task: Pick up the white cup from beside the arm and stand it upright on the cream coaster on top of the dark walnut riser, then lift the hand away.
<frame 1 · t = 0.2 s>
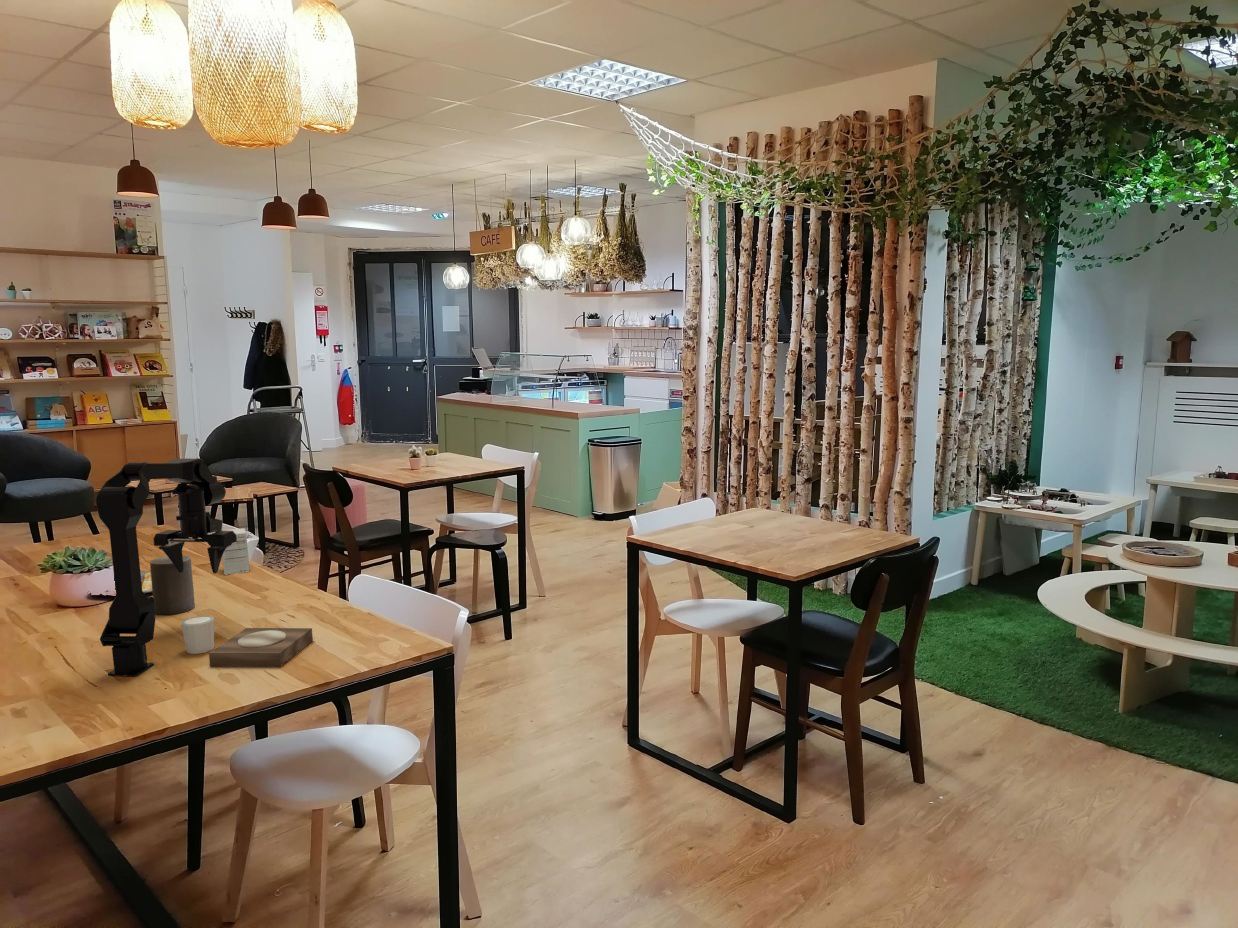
hand: (198, 572, 210), 14 cm above the table, tool pointing down, fingers open, 9 cm apart
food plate: (137, 589, 250), on the table
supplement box: (236, 571, 265), on the table
white cup: (200, 650, 197), on the table
walnut riser: (263, 652, 194), on the table
pillar candle: (175, 610, 228), on the table
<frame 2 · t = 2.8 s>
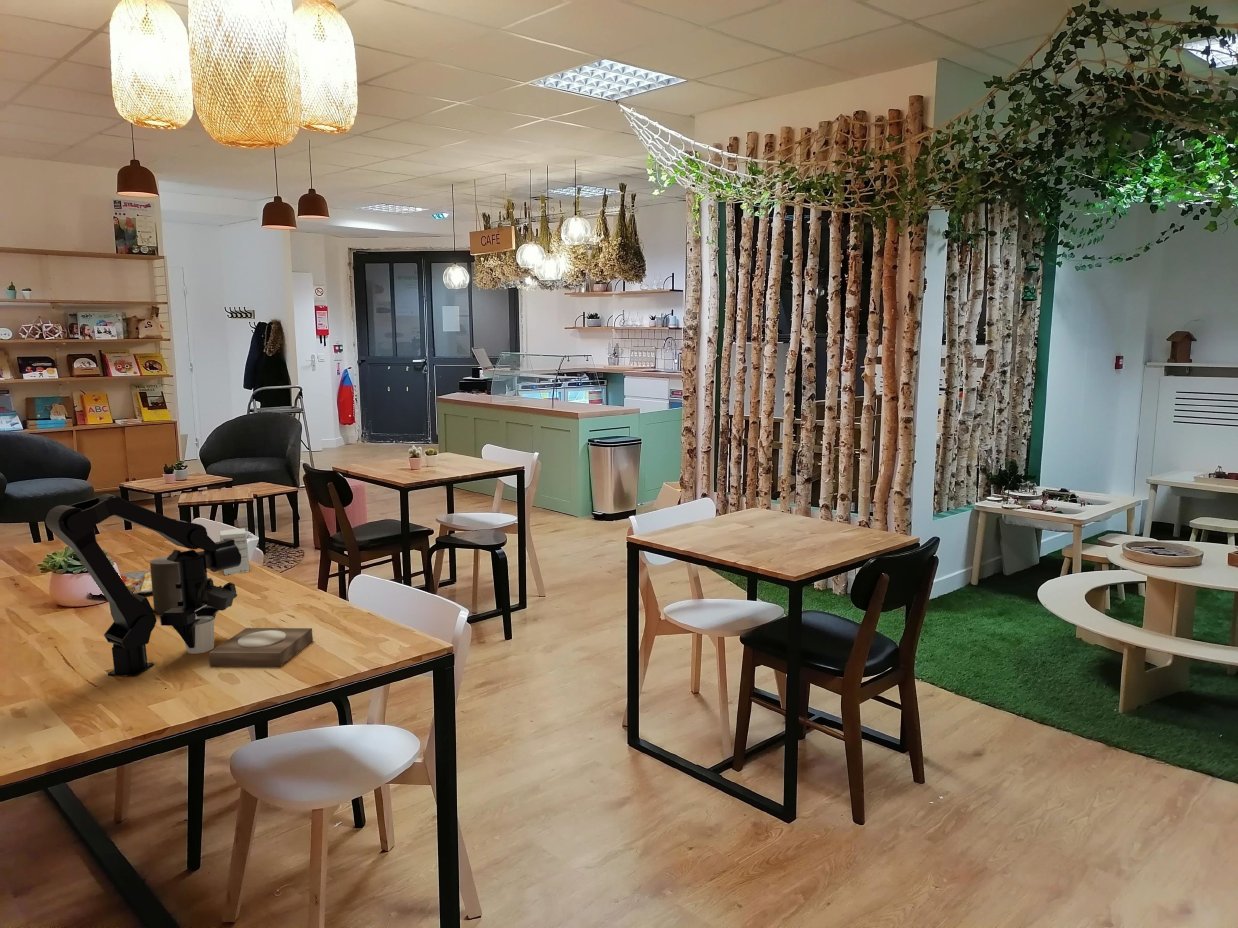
hand: (199, 642, 197), 2 cm above the table, tool pointing down, fingers closed on white cup, 6 cm apart
white cup: (200, 649, 197), on the table, touching gripper
everything else where it was.
when the fingers open (6 cm above the table, at t = 7.1 s): white cup drops 1 cm, resting on walnut riser.
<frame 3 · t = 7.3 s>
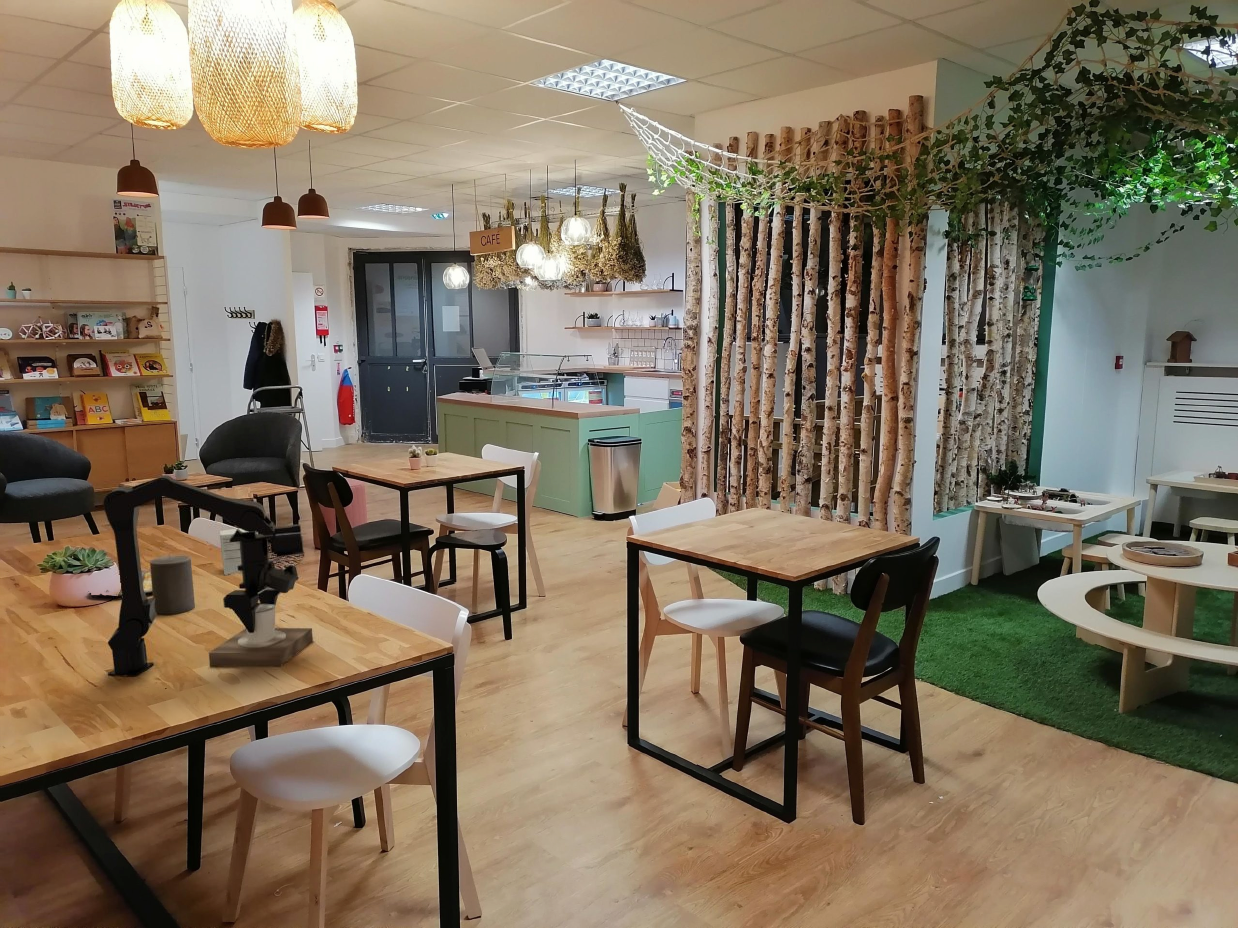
hand: (260, 626, 193), 6 cm above the table, tool pointing down, fingers open, 8 cm apart
white cup: (261, 638, 193), point 3 cm above the table, touching walnut riser
everything else where it was.
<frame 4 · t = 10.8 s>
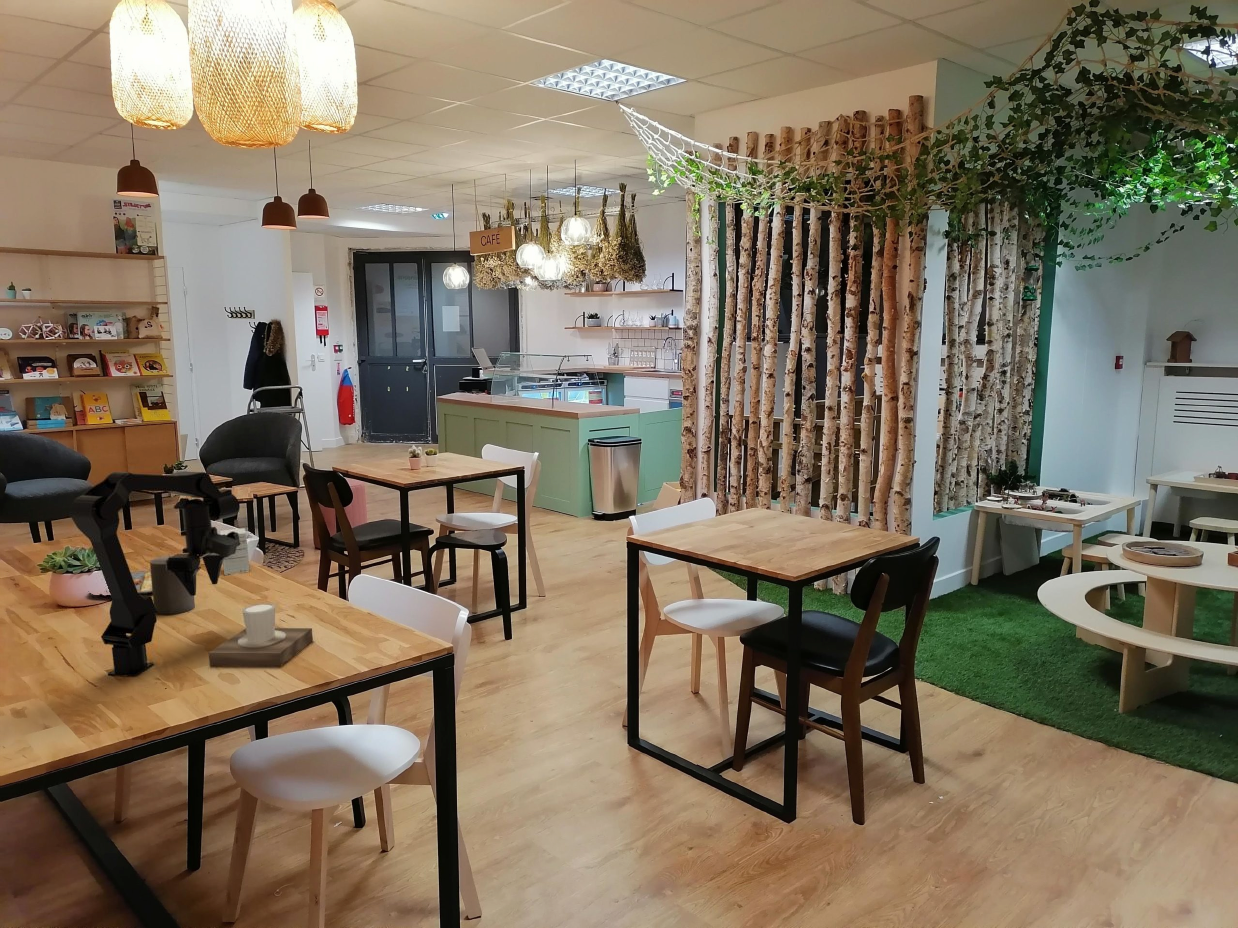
hand: (204, 589, 202), 12 cm above the table, tool pointing down, fingers open, 9 cm apart
nothing on the table moved.
at the end: white cup inside the target area on the walnut riser (0.1 cm from its centre), point 3.3 cm above the walnut riser's base; white cup tilted 0°; the gripper is holding nothing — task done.
